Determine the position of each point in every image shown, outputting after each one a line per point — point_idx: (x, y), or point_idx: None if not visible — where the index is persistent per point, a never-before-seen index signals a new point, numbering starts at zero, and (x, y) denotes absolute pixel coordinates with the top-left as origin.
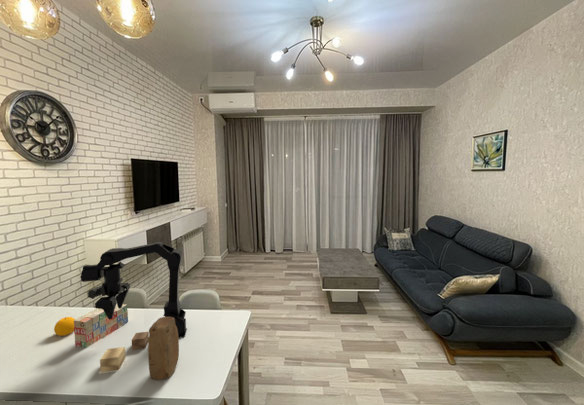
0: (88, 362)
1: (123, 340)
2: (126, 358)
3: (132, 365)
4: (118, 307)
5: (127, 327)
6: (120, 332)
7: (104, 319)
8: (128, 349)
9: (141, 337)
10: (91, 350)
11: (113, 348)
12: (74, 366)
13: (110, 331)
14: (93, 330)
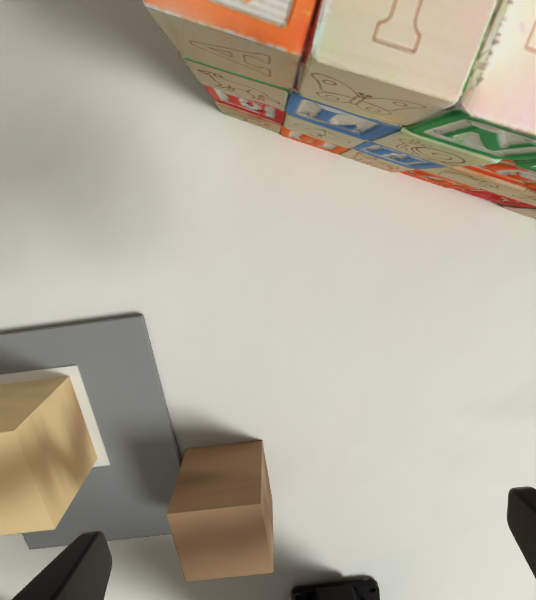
0: (62, 243)
1: (308, 342)
2: (101, 462)
3: None
4: (523, 507)
5: (499, 280)
6: (429, 262)
7: (469, 159)
8: (201, 422)
9: (195, 560)
10: (197, 170)
11: (27, 467)
12: (13, 167)
13: (441, 182)
14: (292, 112)
